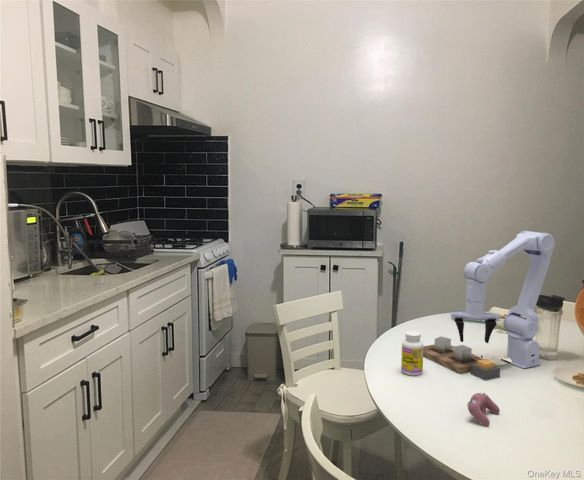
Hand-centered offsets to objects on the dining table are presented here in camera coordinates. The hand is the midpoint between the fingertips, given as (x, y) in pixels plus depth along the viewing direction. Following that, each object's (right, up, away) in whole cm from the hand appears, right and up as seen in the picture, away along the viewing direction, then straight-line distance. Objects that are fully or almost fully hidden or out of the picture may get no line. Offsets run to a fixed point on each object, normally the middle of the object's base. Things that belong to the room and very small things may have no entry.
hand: (474, 341), depth 163 cm
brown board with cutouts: (-4, -8, +10) cm, 14 cm away
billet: (-2, -9, +6) cm, 11 cm away
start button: (+2, -8, -4) cm, 9 cm away
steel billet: (-6, -8, +15) cm, 18 cm away
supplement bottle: (-20, -10, -1) cm, 22 cm away
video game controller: (-9, -14, -31) cm, 35 cm away
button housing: (+2, -10, -4) cm, 11 cm away
